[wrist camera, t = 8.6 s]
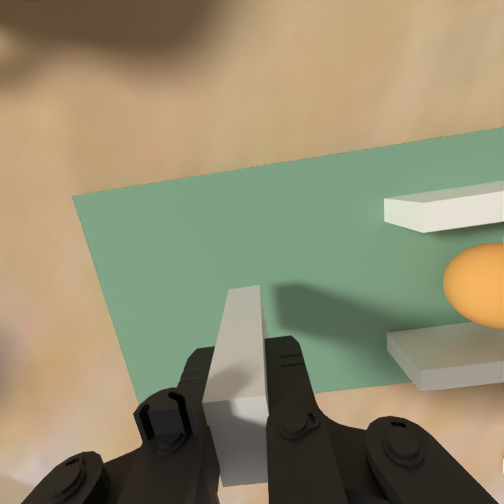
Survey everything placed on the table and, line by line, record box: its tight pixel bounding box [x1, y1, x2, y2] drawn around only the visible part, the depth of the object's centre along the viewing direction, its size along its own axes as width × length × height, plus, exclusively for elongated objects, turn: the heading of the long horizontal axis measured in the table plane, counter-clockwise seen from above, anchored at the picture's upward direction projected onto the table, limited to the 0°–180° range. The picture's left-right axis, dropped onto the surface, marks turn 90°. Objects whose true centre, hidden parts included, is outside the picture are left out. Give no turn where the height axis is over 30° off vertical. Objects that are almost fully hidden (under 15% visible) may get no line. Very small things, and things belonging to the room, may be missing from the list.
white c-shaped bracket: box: [384, 181, 504, 392], centre depth 13 cm, size 9×7×3 cm
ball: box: [443, 243, 504, 329], centre depth 12 cm, size 4×4×4 cm
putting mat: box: [72, 127, 504, 405], centre depth 15 cm, size 14×24×1 cm, turn 99°
